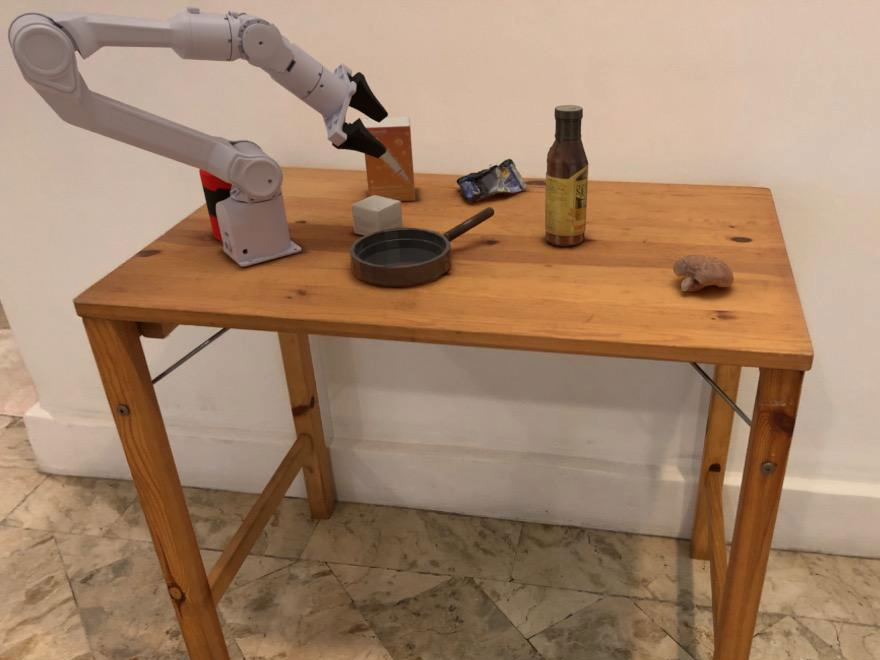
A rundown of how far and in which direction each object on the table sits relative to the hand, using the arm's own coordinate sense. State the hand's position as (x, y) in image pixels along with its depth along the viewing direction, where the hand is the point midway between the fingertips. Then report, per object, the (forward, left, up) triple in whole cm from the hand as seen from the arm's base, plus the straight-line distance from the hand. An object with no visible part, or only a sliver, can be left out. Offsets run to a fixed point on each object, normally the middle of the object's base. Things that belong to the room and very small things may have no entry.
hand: (382, 135), depth 121 cm
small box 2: (-3, -2, -14) cm, 15 cm away
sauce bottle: (+18, -23, -14) cm, 32 cm away
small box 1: (+7, +11, -14) cm, 20 cm away
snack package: (+21, +1, -14) cm, 25 cm away
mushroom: (+22, -47, -14) cm, 53 cm away
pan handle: (+5, -16, -12) cm, 21 cm away
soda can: (-21, +11, -14) cm, 28 cm away
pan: (-7, -16, -14) cm, 22 cm away
